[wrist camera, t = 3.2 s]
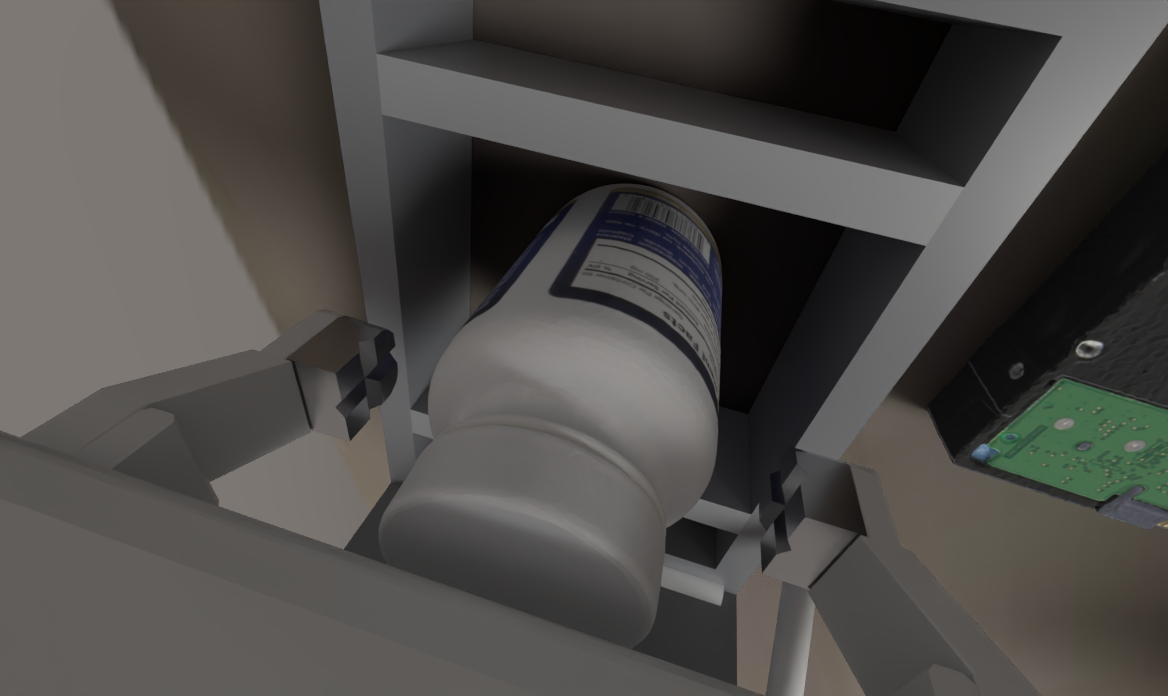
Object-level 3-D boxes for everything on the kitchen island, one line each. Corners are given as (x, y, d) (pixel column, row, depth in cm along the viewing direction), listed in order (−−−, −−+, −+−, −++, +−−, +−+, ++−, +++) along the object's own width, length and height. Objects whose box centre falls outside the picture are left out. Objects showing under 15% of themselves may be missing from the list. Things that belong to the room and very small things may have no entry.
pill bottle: (578, 357, 17) (444, 666, 9) (513, 210, 14) (245, 466, 6) (740, 331, 14) (749, 708, 7) (699, 151, 12) (635, 428, 4)
